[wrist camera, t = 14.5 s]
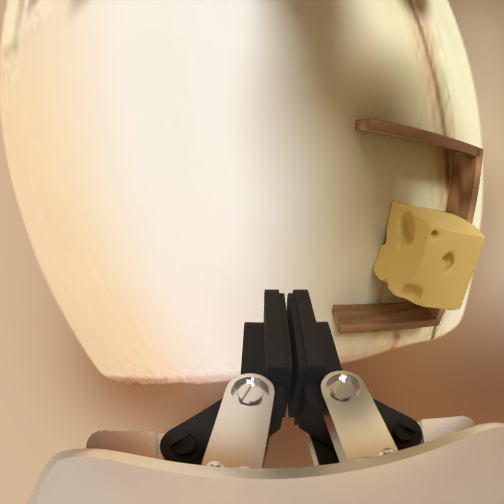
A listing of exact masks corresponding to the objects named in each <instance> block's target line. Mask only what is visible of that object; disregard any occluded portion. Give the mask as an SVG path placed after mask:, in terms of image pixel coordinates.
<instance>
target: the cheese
mask: <svg viewBox="0 0 504 504" xmlns="http://www.w3.org/2000/svg"><path fill="white" fill-rule="evenodd" d="M386 235H387V239H386V243H385V245H382V246H381V248H380V250H379V253H378V256H377V259H376V261H375V264H374V267H373V269H374V273H375V275H376V276H377V277H378V278H379V279H380V280H381V281H384V282H386V283H388V289H389V290H390V291H391V292H392V293H393V294H394V295H395V296H397V297H401V298H405V299H407V300H409V301H411V302H413V303H415V304H417V305H419V306H423V307H431V308H439V309H447V310H455V309H459V308H460V307H461V304H462V302H463V299H464V296H465V293H466V290H467V287H468V285H469V282H470V279H471V276H472V274H473V271H474V268H475V265H476V262H477V260H478V257H479V254H480V252H481V249H482V246H483V243H484V240H485V237H484V235H483V234H482V233H481V232H480V231H479V230H478V229H477V228H476V227H475V226H474V225H473V224H471V223H470V222H468V221H466V220H465V219H463V218H461V217H459V216H456V215H454V214H451V213H447V212H442V211H438V210H433V209H428V208H422V207H417V206H412V205H408V204H404V203H400V202H396V201H393V202H392V205H391V209H390V214H389V218H388V222H387V227H386Z"/></svg>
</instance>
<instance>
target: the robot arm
mask: <svg viewBox="0 0 504 504" xmlns="http://www.w3.org/2000/svg"><path fill="white" fill-rule="evenodd" d="M287 402H288V415H289V417H294V424H295V425H299V428H300V429H302V430H303V431H305V432H306V438H307V442H308V445H309V448H310V452H311V455H312V458H313V462H314V465H315V466H309V467H297V468H271V469H270V468H269V469H264V466H265V461H266V455H267V450H268V444H269V439H270V436H271V435H272V434H274V433H275V432H276V431H277V430H279V429H280V427H281V421H282V418H283V417H285V412H286V407H287ZM28 504H504V423H485V424H480V425H476V426H475V424H474V422H473V421H472V420H471V419H470V418H468V417H466V416H457V417H448V418H435V419H422V420H421V421H420V422H416V421H415V420H413V419H412V418H410V417H408V416H406V415H404V414H402V413H400V412H398V411H396V410H394V409H392V408H390V407H388V406H386V405H384V404H383V403H381V402H379V401H377V400H375V399H373V398H372V397H371V395H370V393H369V391H368V389H367V387H366V385H365V383H364V382H363V380H362V379H361V378H360V377H359V376H358V375H356V374H354V373H352V372H349V371H342V369H341V365H340V361H339V358H338V354H337V351H336V347H335V344H334V341H333V337H332V334H331V330H330V327H329V324H328V322H316V320H315V316H314V312H313V308H312V304H311V300H310V297H309V293H308V290H293V293H288V298H287V310H286V304H285V296H284V293H279V290H265V294H264V323H255V322H245V324H244V337H243V351H242V365H241V375H239V376H237V377H235V378H233V379H232V380H231V381H230V382H229V384H228V386H227V388H226V390H225V394H224V397H223V398H222V399H221V400H219V401H217V402H216V403H214V404H213V405H211V406H210V407H208V408H206V409H205V410H203V411H202V412H200V413H198V414H197V415H195V416H193V417H192V418H190V419H188V420H187V421H185V422H183V423H181V424H180V425H178V426H176V427H175V428H173V429H171V430H170V431H168V432H167V433H164V434H157V433H156V432H154V431H153V432H152V431H150V432H149V431H147V432H146V431H138V432H137V431H133V432H132V431H108V430H103V431H97V432H95V433H93V434H92V435H91V436H90V437H89V439H88V442H87V445H86V448H82V449H72V450H66V451H62V452H60V453H58V454H56V455H55V456H53V457H52V458H51V459H50V460H49V461H48V463H47V464H46V465H45V467H44V469H43V470H42V472H41V474H40V476H39V478H38V480H37V482H36V484H35V486H34V489H33V492H32V494H31V497H30V500H29V503H28Z"/></svg>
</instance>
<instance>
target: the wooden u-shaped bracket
mask: <svg viewBox="0 0 504 504" xmlns="http://www.w3.org/2000/svg"><path fill="white" fill-rule="evenodd" d="M356 130H360V131H367V132H373V133H378V134H384V135H389V136H394V137H399V138H404V139H409V140H413V141H417V142H422V143H426V144H430V145H434V146H437V147H441V148H445V149H448V150H452V151H455V153H454V163H453V172H452V180H451V187H450V194H449V200H448V206H447V211H446V212H447V213H451V214H454V215H456V216H459V217H461V218H463V219H465V220H466V221H468V222H470V223H471V224H472V222H473V217H474V212H475V207H476V201H477V196H478V189H479V183H480V175H481V167H482V157H483V149H481V148H478V147H476V146H473V145H470V144H467V143H464V142H462V141H459V140H455V139H452V138H449V137H446V136H443V135H439V134H436V133H432V132H429V131H425V130H421V129H417V128H413V127H409V126H405V125H401V124H396V123H392V122H387V121H382V120H377V119H363V120H356ZM444 312H445V309H439V308H431V307H423V306H419V305H417V304H415V303H413V302H409V303H389V304H361V305H333V309H332V313H333V316H334V319H335V322H336V324H337V327H338V330H339V333H340V334H342V333H362V332H377V331H390V330H401V329H411V328H421V327H429V326H437V325H439V323H440V321H441V319H442V316H443V314H444Z"/></svg>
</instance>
